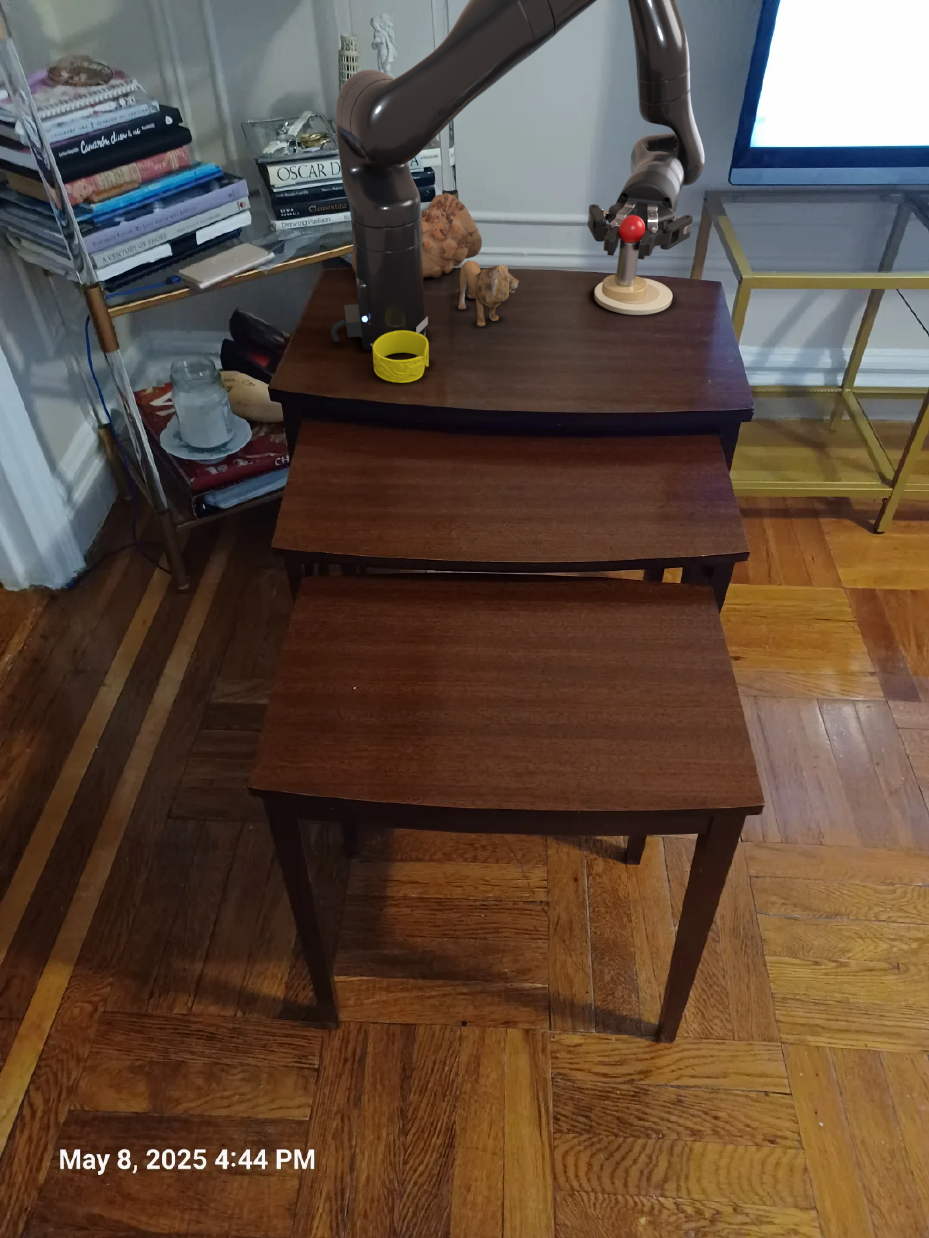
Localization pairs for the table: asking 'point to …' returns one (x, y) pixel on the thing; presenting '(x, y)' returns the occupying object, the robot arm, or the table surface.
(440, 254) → the brown bumpy lump
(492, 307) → the lion figurine
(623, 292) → the red ball post
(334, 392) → the table surface
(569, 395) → the table surface
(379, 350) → the bracelet
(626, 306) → the plate
